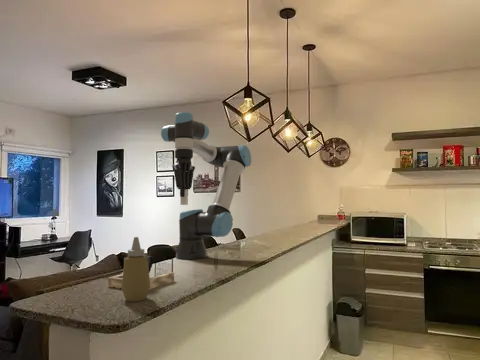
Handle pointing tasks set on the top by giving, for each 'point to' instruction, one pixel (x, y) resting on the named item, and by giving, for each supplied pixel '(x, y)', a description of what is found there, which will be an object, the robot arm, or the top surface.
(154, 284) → the tray
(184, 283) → the top surface
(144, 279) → the squeeze bottle
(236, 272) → the top surface
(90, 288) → the top surface
